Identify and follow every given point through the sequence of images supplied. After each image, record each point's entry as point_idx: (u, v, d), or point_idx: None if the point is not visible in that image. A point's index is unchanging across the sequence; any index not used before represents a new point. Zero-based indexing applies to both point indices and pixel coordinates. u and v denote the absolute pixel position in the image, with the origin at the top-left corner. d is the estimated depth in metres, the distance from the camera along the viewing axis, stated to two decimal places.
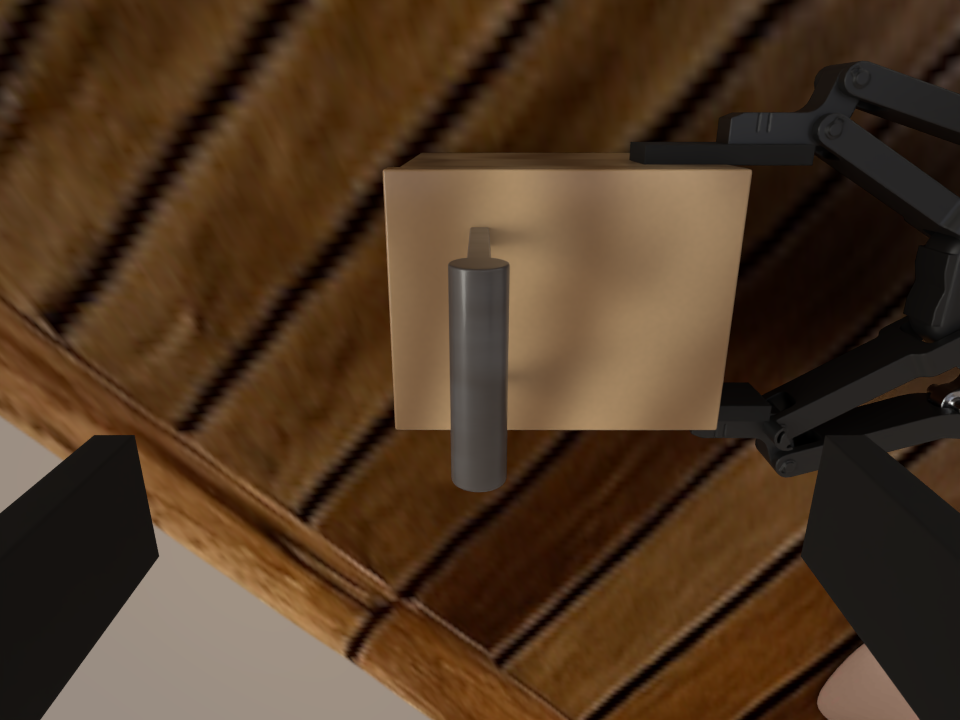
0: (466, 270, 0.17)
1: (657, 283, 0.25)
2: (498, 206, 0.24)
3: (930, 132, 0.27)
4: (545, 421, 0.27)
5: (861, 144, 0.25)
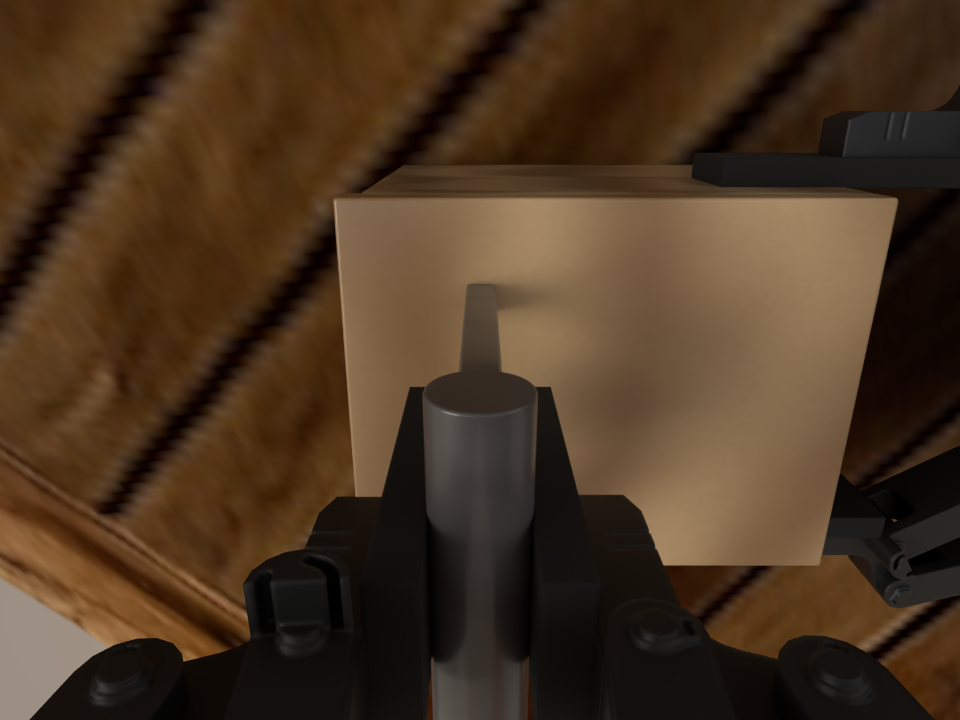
0: (456, 413, 0.09)
1: (745, 365, 0.17)
2: (509, 253, 0.16)
3: None
4: None
5: None
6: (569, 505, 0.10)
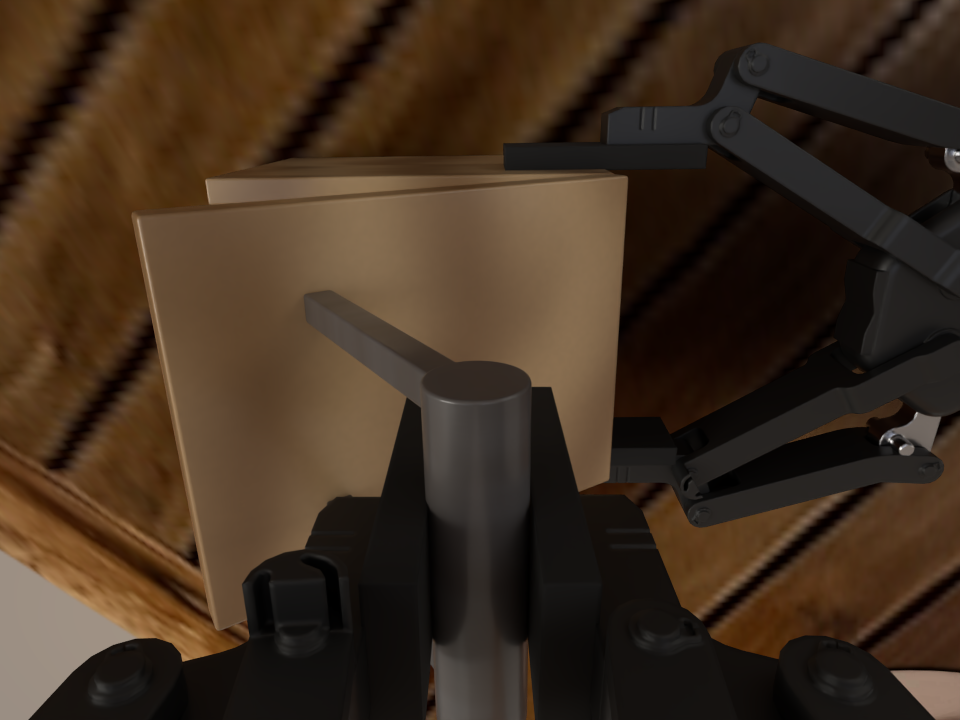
0: (483, 402, 0.09)
1: (545, 327, 0.19)
2: (342, 256, 0.15)
3: (853, 127, 0.23)
4: None
5: (763, 143, 0.21)
6: (570, 506, 0.10)
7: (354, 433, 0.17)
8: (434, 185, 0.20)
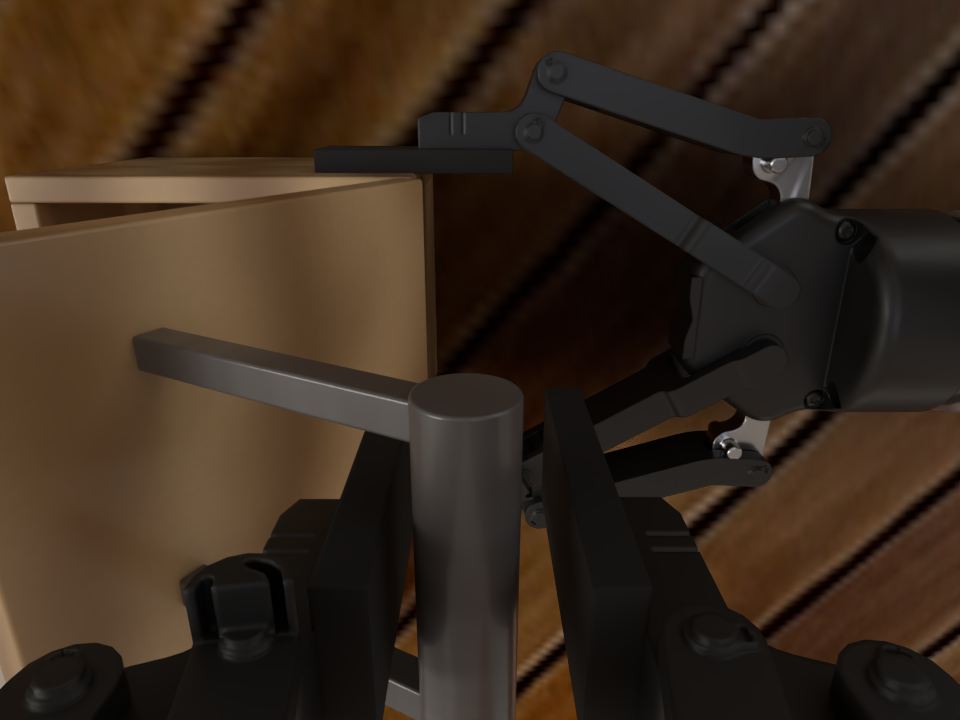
0: (501, 414, 0.09)
1: (369, 337, 0.19)
2: (172, 285, 0.13)
3: (669, 135, 0.23)
4: None
5: (568, 149, 0.22)
6: (611, 508, 0.10)
7: (202, 492, 0.14)
8: (234, 186, 0.21)
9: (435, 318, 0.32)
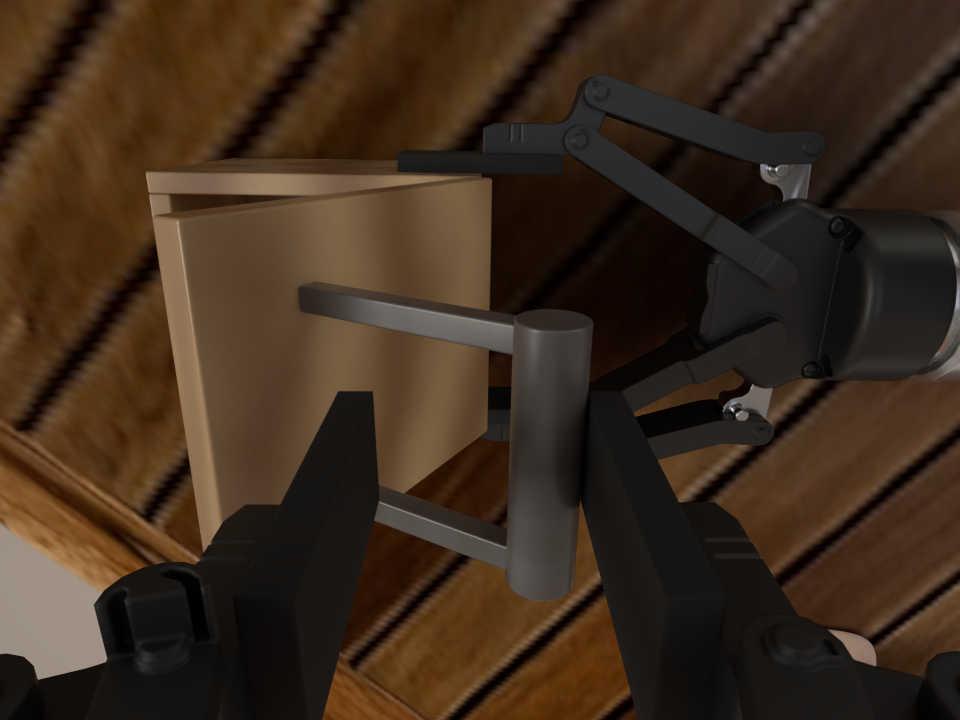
0: (579, 330, 0.13)
1: None
2: (324, 251, 0.17)
3: (690, 144, 0.28)
4: None
5: (608, 156, 0.26)
6: (672, 514, 0.10)
7: None
8: (334, 182, 0.25)
9: None
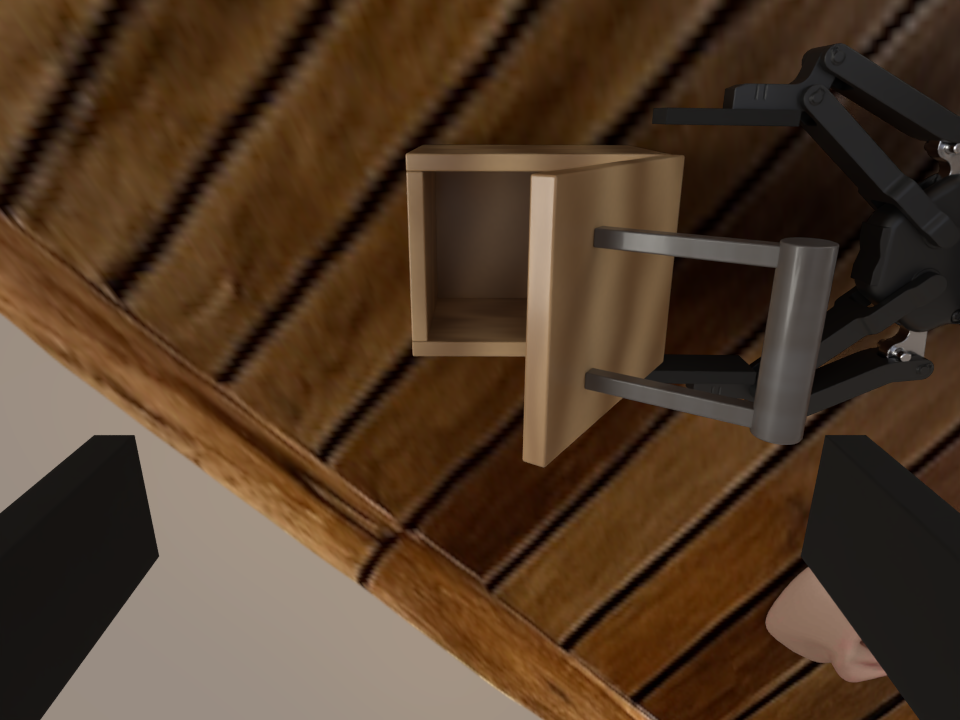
0: (833, 247, 0.19)
1: (655, 254, 0.30)
2: (606, 203, 0.24)
3: (883, 117, 0.34)
4: (611, 400, 0.28)
5: (834, 114, 0.32)
6: None
7: (597, 324, 0.25)
8: (555, 160, 0.31)
9: None
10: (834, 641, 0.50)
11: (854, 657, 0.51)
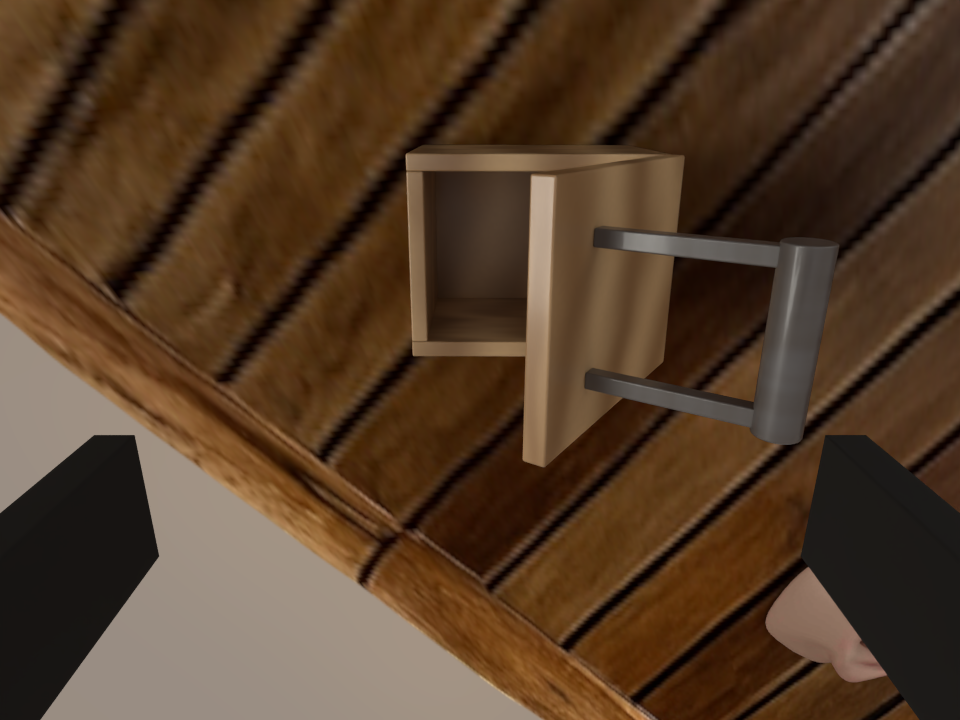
0: (833, 247, 0.19)
1: (655, 254, 0.30)
2: (606, 203, 0.24)
3: None
4: (611, 400, 0.28)
5: None
6: None
7: (597, 324, 0.25)
8: (555, 160, 0.31)
9: None
10: (834, 641, 0.50)
11: (854, 657, 0.51)
